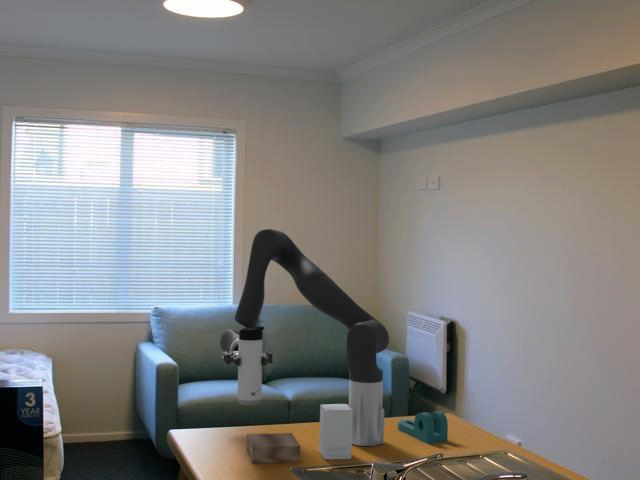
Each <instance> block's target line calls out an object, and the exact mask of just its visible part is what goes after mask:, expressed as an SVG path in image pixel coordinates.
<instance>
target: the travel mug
mask: <svg viewBox="0 0 640 480" xmlns="http://www.w3.org/2000/svg"><path fill="white" fill-rule="evenodd" d="M264 330H265V326H263V325H262V326H261V325H260V326H256V327H251V328H246V327H244V328H242V329H239V330H238V331H239V353H238V356H239V358H240V366H237V403H238V404H240V405H244V406H254V405H255V406H256V405H259V404H261V403H262V399H263V398H262V397H263V396H262V393H263V392H262V389H263V387H262V386H263V385H262V384H263V365H262V353H263V345H264V344H263V339H264V337H263V335H264V334H263V331H264Z"/></svg>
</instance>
